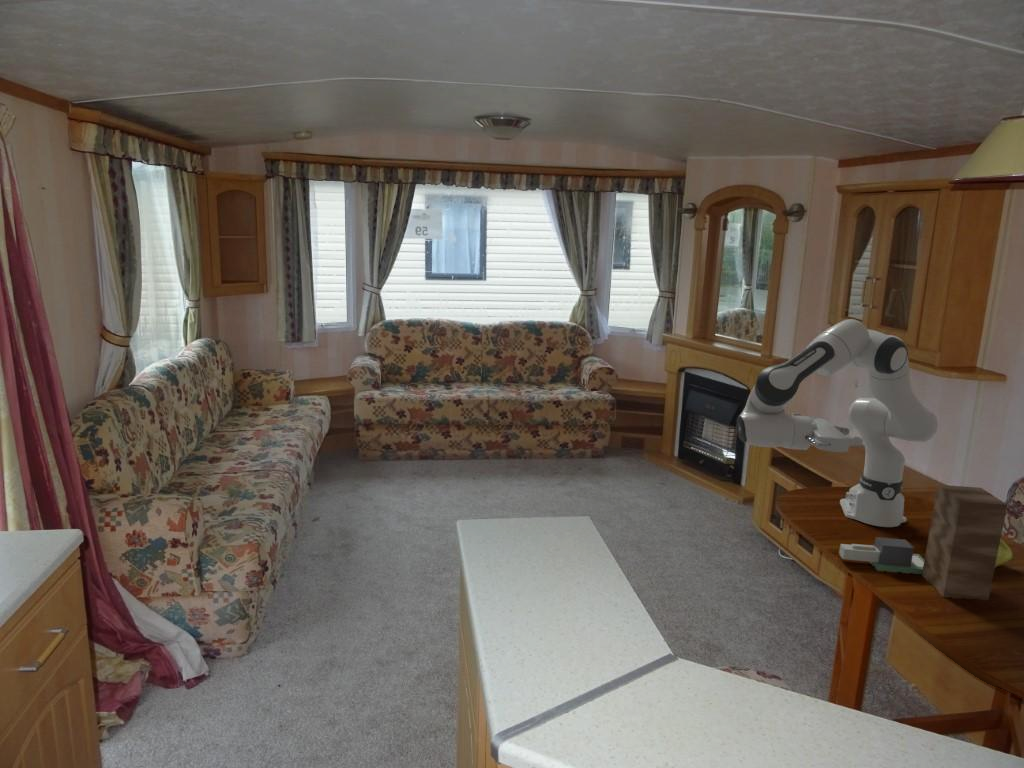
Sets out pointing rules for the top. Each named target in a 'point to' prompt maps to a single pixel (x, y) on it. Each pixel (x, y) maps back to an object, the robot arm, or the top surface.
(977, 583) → the block
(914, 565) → the board
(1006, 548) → the plastic component
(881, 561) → the plug
